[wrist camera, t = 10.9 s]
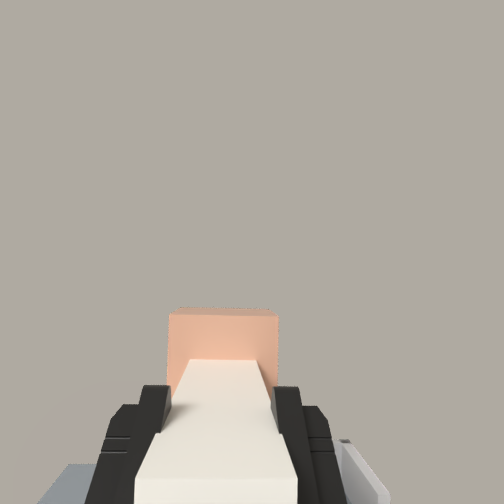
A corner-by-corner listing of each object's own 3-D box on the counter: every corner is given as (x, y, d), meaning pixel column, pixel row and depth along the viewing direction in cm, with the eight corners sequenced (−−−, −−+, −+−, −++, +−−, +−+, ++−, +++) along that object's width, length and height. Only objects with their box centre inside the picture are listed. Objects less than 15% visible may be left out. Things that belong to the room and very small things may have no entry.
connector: (70, 652, 8) (84, 366, 8) (177, 396, 25) (180, 307, 25) (348, 646, 8) (351, 370, 8) (266, 398, 25) (268, 309, 25)
